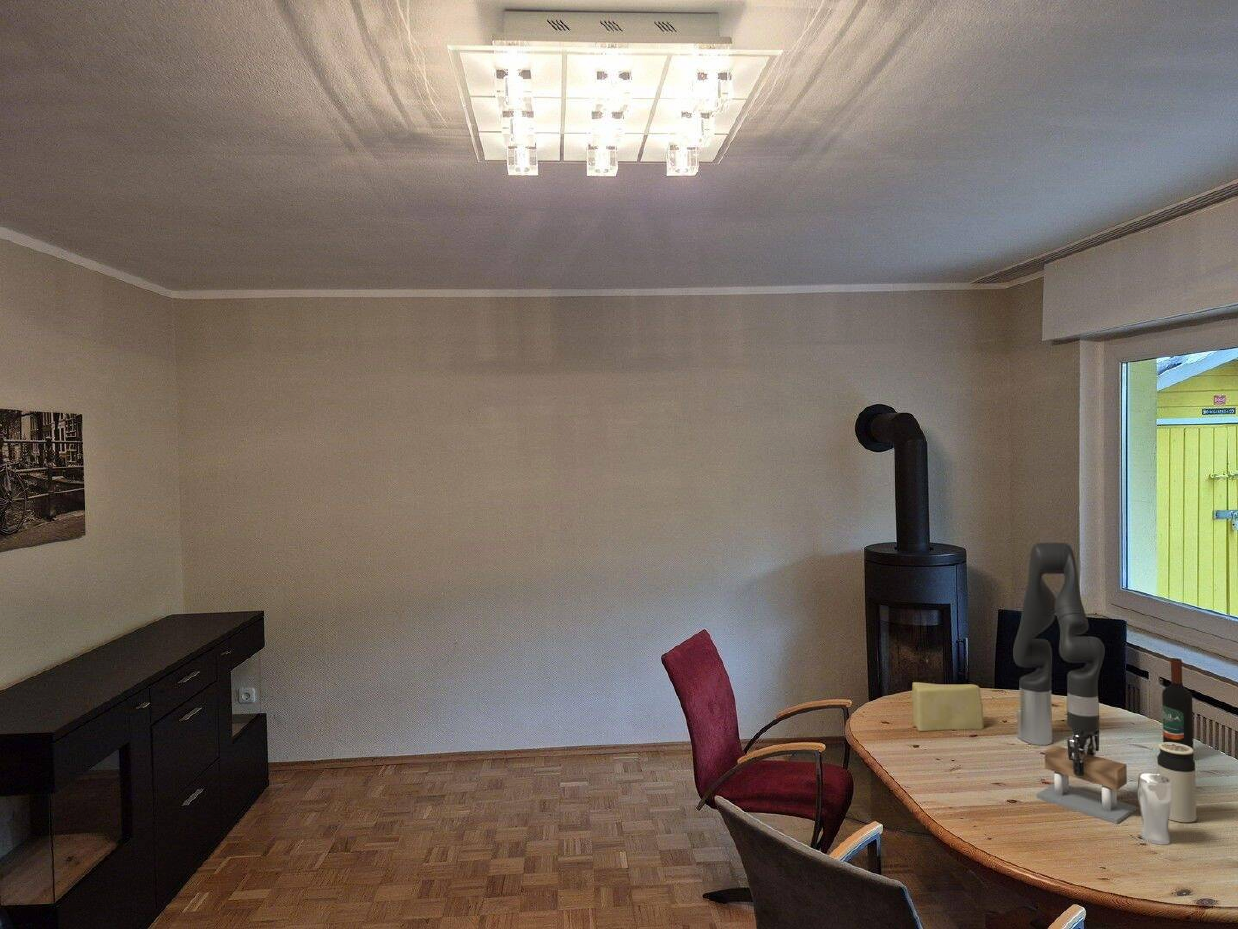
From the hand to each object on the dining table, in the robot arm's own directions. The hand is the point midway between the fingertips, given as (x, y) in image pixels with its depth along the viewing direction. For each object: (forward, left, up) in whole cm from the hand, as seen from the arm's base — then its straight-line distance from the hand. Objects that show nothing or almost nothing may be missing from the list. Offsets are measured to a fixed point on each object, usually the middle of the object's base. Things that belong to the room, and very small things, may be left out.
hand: (1084, 771), depth 211 cm
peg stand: (0, 0, -9) cm, 9 cm away
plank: (0, 0, -1) cm, 1 cm away
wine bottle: (+4, +54, -9) cm, 55 cm away
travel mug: (+18, +10, -9) cm, 22 cm away
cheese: (-55, +26, -9) cm, 61 cm away
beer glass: (+19, -7, -9) cm, 22 cm away
